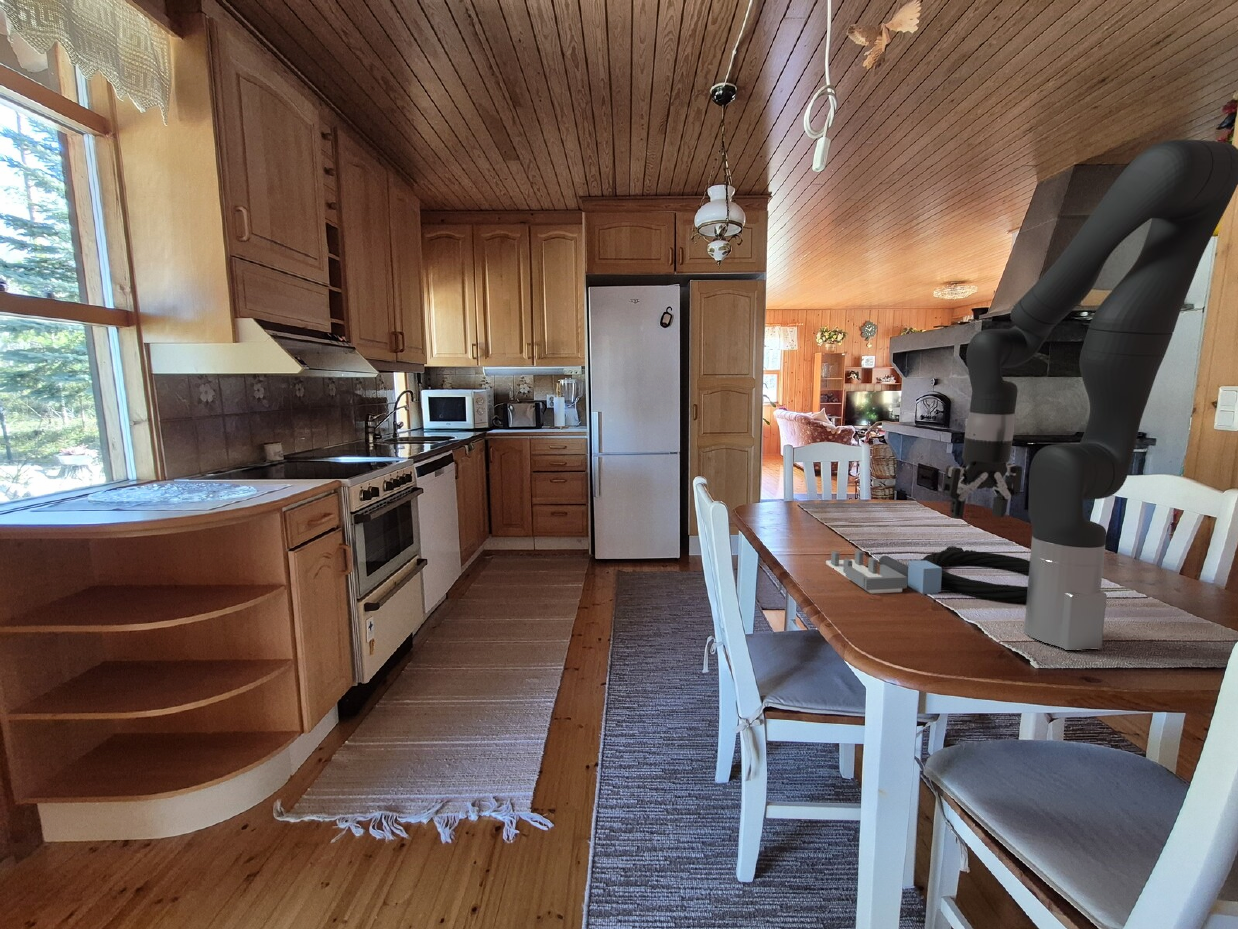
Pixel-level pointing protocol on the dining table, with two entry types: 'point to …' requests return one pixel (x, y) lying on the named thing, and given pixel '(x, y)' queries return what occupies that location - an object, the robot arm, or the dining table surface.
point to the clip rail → (868, 574)
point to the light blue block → (917, 574)
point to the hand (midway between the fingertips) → (977, 517)
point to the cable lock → (981, 588)
